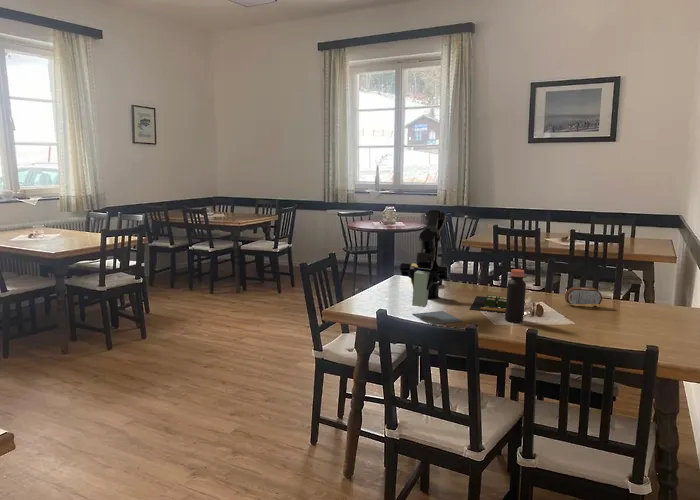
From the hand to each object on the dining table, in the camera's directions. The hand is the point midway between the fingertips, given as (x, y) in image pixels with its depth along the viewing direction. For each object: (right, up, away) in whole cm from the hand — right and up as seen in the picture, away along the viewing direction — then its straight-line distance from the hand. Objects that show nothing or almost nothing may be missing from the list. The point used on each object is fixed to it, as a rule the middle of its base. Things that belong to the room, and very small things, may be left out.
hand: (420, 288), depth 207 cm
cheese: (+9, -2, +61) cm, 62 cm away
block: (0, -6, +2) cm, 7 cm away
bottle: (+36, -13, +1) cm, 39 cm away
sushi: (+38, -10, +23) cm, 46 cm away
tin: (+74, -10, +25) cm, 79 cm away
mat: (+7, -11, +2) cm, 14 cm away
